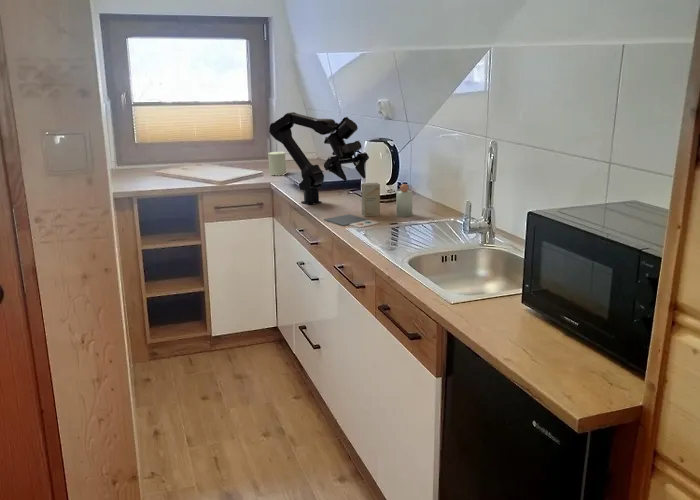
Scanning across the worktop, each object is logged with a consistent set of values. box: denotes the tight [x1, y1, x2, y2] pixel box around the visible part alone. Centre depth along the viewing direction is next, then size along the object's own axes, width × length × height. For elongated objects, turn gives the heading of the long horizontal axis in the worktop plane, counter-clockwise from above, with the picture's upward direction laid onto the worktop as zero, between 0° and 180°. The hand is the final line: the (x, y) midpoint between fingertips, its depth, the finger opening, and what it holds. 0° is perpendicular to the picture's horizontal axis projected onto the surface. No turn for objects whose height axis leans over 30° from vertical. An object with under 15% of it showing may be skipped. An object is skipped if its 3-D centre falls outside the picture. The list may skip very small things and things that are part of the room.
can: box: [267, 151, 287, 176], centre depth 331 cm, size 9×9×12 cm
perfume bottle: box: [395, 183, 413, 218], centre depth 236 cm, size 6×6×12 cm
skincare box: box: [361, 182, 381, 218], centre depth 238 cm, size 6×4×12 cm
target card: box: [348, 219, 380, 229], centre depth 226 cm, size 6×9×1 cm, turn 128°
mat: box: [323, 213, 370, 227], centre depth 232 cm, size 12×12×1 cm
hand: (355, 179), depth 242 cm, fingers open, 9 cm apart
